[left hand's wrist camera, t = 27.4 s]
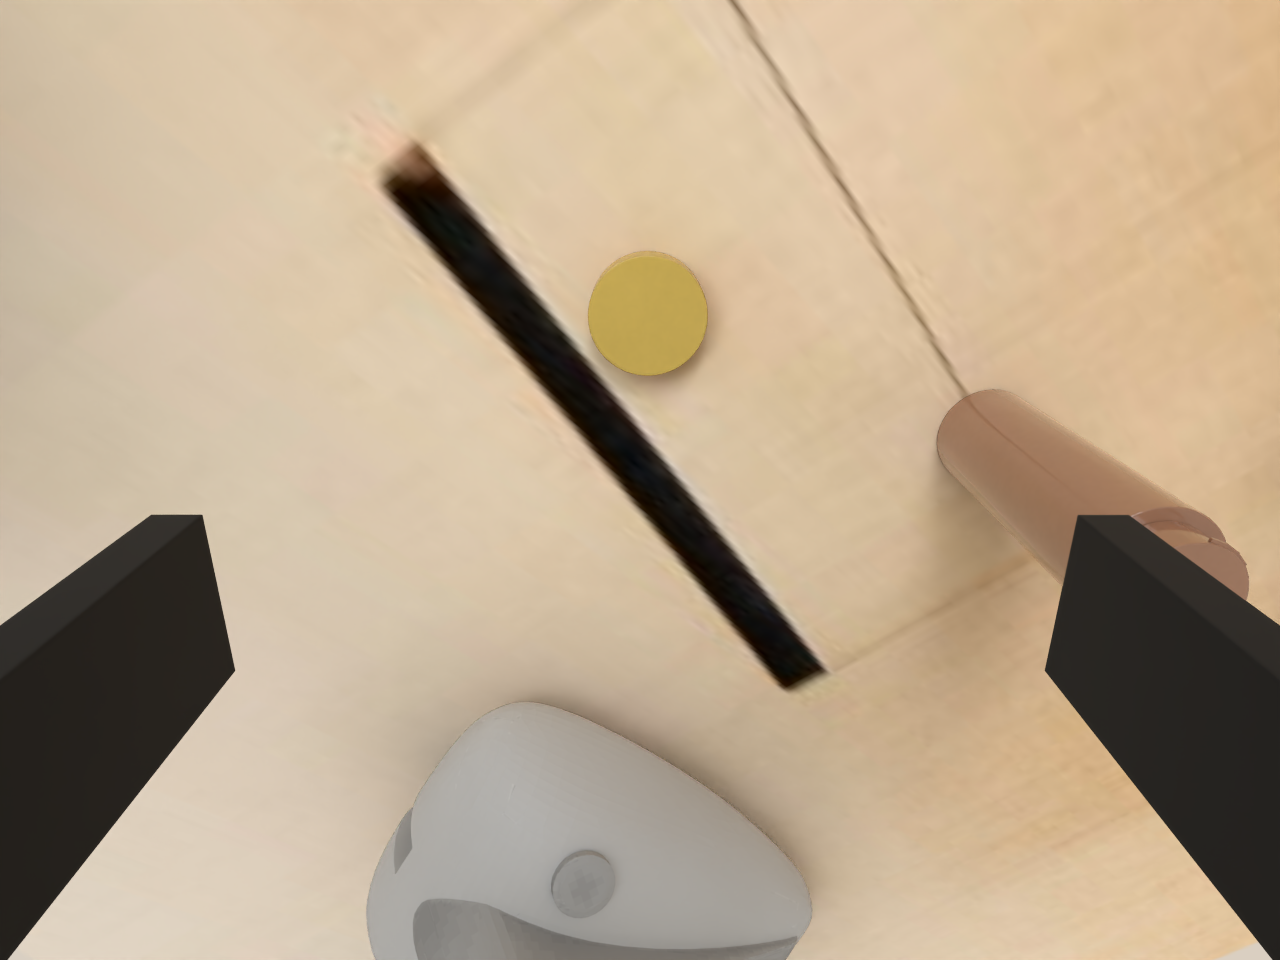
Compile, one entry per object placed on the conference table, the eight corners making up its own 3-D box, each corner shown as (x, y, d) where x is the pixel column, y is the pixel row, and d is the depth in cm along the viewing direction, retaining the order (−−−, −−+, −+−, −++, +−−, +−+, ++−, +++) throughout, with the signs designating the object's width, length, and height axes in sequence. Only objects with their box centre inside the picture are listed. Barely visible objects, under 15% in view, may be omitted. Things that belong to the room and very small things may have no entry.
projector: (480, 1002, 52) (424, 1299, 39) (327, 717, 44) (189, 965, 31) (821, 927, 50) (889, 1215, 36) (724, 612, 42) (765, 830, 29)
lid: (680, 232, 36) (682, 236, 34) (720, 341, 37) (724, 350, 36) (572, 277, 36) (568, 283, 34) (616, 382, 38) (615, 393, 36)
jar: (1004, 494, 40) (1207, 681, 26) (919, 463, 39) (1078, 638, 25) (1053, 408, 38) (1298, 557, 24) (965, 375, 38) (1162, 508, 24)
